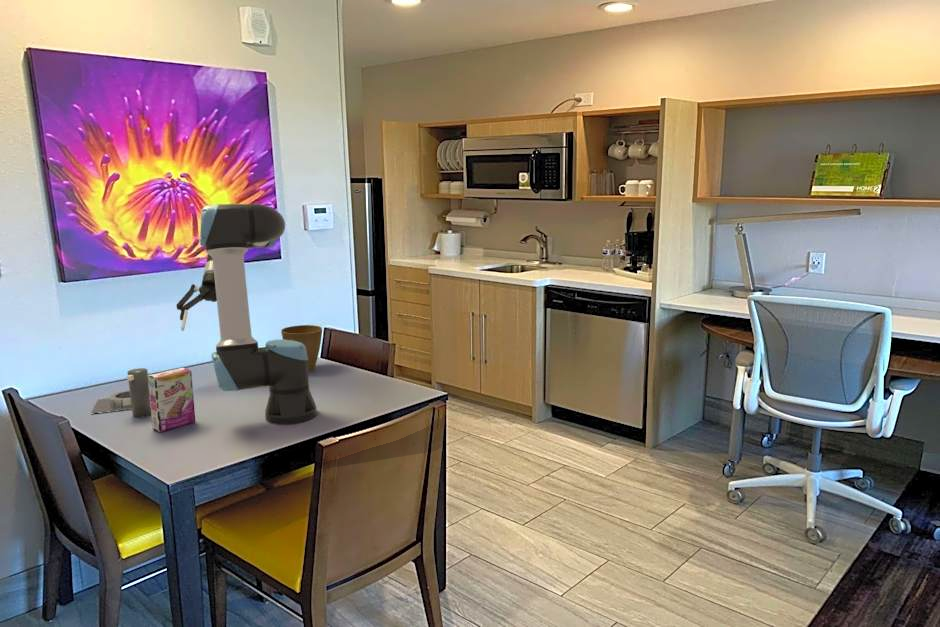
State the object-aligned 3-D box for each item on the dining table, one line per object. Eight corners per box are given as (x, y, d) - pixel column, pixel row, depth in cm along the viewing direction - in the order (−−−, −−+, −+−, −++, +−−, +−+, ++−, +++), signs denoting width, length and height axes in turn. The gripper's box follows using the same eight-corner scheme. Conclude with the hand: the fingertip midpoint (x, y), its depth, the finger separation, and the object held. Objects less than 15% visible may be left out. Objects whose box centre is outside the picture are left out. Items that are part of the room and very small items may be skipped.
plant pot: (293, 378, 246) (290, 335, 243) (278, 369, 258) (275, 328, 255) (331, 370, 255) (328, 329, 252) (315, 362, 267) (312, 322, 264)
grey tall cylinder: (140, 410, 214) (135, 368, 211) (156, 411, 213) (151, 368, 210) (125, 418, 207) (120, 374, 205) (142, 419, 207) (136, 374, 204)
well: (161, 406, 218) (160, 396, 218) (91, 414, 211) (90, 405, 211) (164, 393, 231) (163, 384, 230) (98, 401, 224) (97, 392, 224)
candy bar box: (160, 433, 195) (154, 378, 192) (152, 429, 198) (145, 375, 195) (197, 422, 203) (191, 369, 200) (188, 418, 206) (183, 366, 203)
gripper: (251, 286, 246) (241, 341, 237) (177, 275, 239) (165, 330, 230) (252, 277, 239) (242, 333, 231) (176, 265, 232) (163, 322, 224)
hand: (203, 332), depth 230 cm, fingers open, 13 cm apart
